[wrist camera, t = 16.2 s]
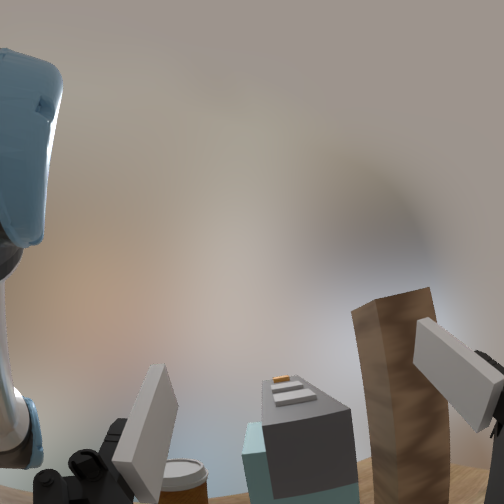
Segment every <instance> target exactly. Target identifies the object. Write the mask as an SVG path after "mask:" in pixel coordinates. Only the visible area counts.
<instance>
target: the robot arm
mask: <svg viewBox="0 0 504 504" xmlns="http://www.w3.org/2000/svg"><path fill="white" fill-rule="evenodd" d="M62 91H63V80H62V76H61V74H60V72H59V70H58V69H57V68H56V67H55V66H54V65H53V64H51V63H49V62H47V61H44V60H41V59H38V58H35V57H32V56H29V55H25V54H22V53H19V52H15V51H12V50H10V49H8V48H0V468H13V469H17V468H18V469H24V470H27V469H29V468H38V467H40V466H41V465H42V463H43V447H42V436H41V430H40V424H39V419H38V414H37V410H36V407H35V404H34V403H33V401H32V400H31V399H30V398H25V397H24V396H21V394H20V393H19V392H18V391H17V390H16V389H15V388H14V386H13V380H12V374H11V367H10V360H9V351H8V342H7V331H6V315H5V280H6V279H7V278H9V277H10V275H11V274H12V273H13V272H14V271H15V270H16V268H17V266H18V265H19V263H20V261H21V258H22V254H23V249H24V248H28V247H29V246H31V245H38V244H39V243H40V242H42V240H43V236H44V223H45V206H46V193H47V182H48V173H49V166H50V158H51V151H52V145H53V139H54V133H55V127H56V122H57V116H58V111H59V106H60V101H61V97H62ZM413 364H414V365H415V366H416V367H417V368H418V369H419V370H420V371H421V372H422V373H423V374H424V376H425V377H426V378H427V379H428V380H429V381H430V382H431V383H432V384H433V385H434V386H435V387H436V389H437V390H438V391H439V392H440V393H441V394H442V395H443V396H444V397H445V398H446V399H447V401H448V402H449V403H450V404H451V405H452V406H453V407H454V408H455V409H456V411H457V412H458V413H459V414H460V415H461V416H462V417H463V418H464V419H465V421H466V422H467V423H468V424H469V425H470V426H471V427H472V429H473V430H474V431H475V432H476V433H478V432H480V431H482V430H483V429H485V428H487V427H488V426H489V425H490V422H491V420H492V417H494V418H495V419H496V420H497V422H496V424H495V426H494V429H493V431H492V433H491V436H490V438H492V436H493V434H494V442H493V451H492V460H491V467H490V474H489V480H488V486H487V491H486V496H485V501H484V504H504V367H502V366H501V365H500V364H499V363H498V364H497V362H496V361H494V360H492V358H491V357H490V356H488V355H487V354H486V353H483V352H480V351H478V350H476V351H473V350H471V349H470V348H469V347H467V346H466V345H465V344H464V343H462V342H461V341H459V340H458V339H457V338H456V337H454V336H453V335H452V334H450V333H449V332H448V331H446V330H445V329H444V328H442V327H441V326H439V325H438V324H437V323H436V322H434V321H433V320H432V319H430V318H429V317H427V318H423V319H420V320H417V327H416V338H415V348H414V357H413ZM177 410H178V403H177V400H176V397H175V394H174V391H173V388H172V385H171V382H170V379H169V376H168V372H167V369H166V366H165V364H154V365H150V368H149V370H148V372H147V375H146V377H145V379H144V381H143V384H142V386H141V389H140V391H139V394H138V396H137V398H136V401H135V403H134V405H133V408H132V410H131V413H130V415H129V418H128V419H125V418H122V419H121V418H118V419H117V420H116V421H115V422H114V423H113V424H112V425H111V426H110V428H109V430H108V432H107V435H106V437H105V439H104V442H103V444H102V446H101V448H100V450H99V452H98V453H97V452H96V451H94V450H91V449H83V450H79V451H77V452H76V453H74V454H73V455H72V456H71V457H70V458H69V461H68V465H69V468H70V470H71V471H72V473H73V474H74V475H75V476H68V477H62V476H61V475H60V474H59V473H58V472H57V471H56V470H53V469H45V470H42V471H40V472H39V473H37V474H36V476H35V477H34V480H33V504H133V499H134V495H135V497H136V498H137V499H138V500H139V502H140V503H152V504H158V501H159V496H160V491H161V486H162V481H163V476H164V471H165V466H166V461H167V456H168V452H169V447H170V442H171V437H172V433H173V428H174V423H175V419H176V415H177Z"/></svg>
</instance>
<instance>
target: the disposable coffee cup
mask: <svg viewBox="0 0 504 504" xmlns="http://www.w3.org/2000/svg"><path fill="white" fill-rule="evenodd" d="M207 476H208V470H207V469H206V468H205V467H204V465H203V463H201V462H200V461H198V460H194V459H183V458H182V459H167V461H166V466H165V471H164V476H163V481H162V486H161V491H160V496H159V501H158V504H208V496H207V483H206V480H207Z"/></svg>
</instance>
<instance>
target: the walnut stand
mask: <svg viewBox="0 0 504 504" xmlns="http://www.w3.org/2000/svg"><path fill="white" fill-rule="evenodd" d="M351 314H352V319H353V324H354V329H355V335H356V341H357V347H358V353H359V359H360V366H361V372H362V379H363V386H364V393H365V400H366V409H367V416H368V425H369V435H370V445H371V456H372V469H373V483H374V502H375V504H448V503H449V486H450V429H449V412H448V401H447V399H446V398H445V397H444V396H443V395H442V394H441V393H440V392H439V391H438V390H437V389H436V387H435V386H434V385H433V384H432V383H431V382H430V381H429V380H428V379H427V378H426V377H425V376H424V374H423V373H422V372H421V371H420V370H419V369H418V368H417V367H416V366H415V365H414V364H413V357H414V348H415V338H416V327H417V320H420V319H423V318H427V317H429V318H430V319H432V320H433V321H434V322H436V323H437V321H436V315H435V310H434V305H433V301H432V296H431V292H430V288H429V287H427V288H423V289H419V290H415V291H410V292H406V293H402V294H397V295H393V296H388V297H384V298H379V299H375V300H373V301H371V302H369V303H367V304H365V305H363V306H361V307H359V308H357V309H355V310H353V311H351Z"/></svg>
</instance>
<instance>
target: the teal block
mask: <svg viewBox="0 0 504 504" xmlns="http://www.w3.org/2000/svg"><path fill="white" fill-rule="evenodd" d="M242 459H243V465H244V470H245V476H246V481H247V487H248V492H249V497H250V502H251V504H360V501H359V487H358V482H357V483H354V484H350V485H346V486H342V487H338V488H334V489H330V490H325V491H321V492H316V493H311V494H306V495H300V496H295V497H288V498H282V499H275V500H274V498H273V492H272V486H271V480H270V474H269V468H268V462H267V456H266V450H265V444H264V437H263V431H262V421H261V422H254V423H248V426H247V431H246V436H245V441H244V446H243V450H242Z"/></svg>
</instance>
